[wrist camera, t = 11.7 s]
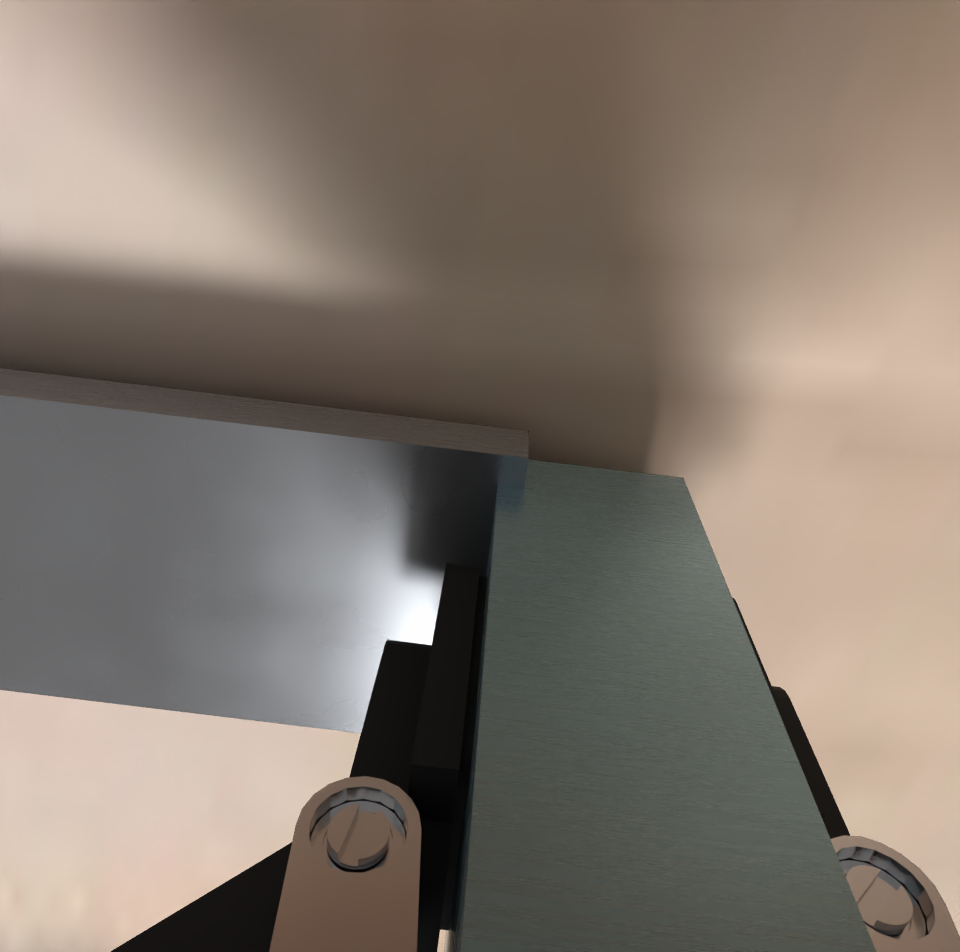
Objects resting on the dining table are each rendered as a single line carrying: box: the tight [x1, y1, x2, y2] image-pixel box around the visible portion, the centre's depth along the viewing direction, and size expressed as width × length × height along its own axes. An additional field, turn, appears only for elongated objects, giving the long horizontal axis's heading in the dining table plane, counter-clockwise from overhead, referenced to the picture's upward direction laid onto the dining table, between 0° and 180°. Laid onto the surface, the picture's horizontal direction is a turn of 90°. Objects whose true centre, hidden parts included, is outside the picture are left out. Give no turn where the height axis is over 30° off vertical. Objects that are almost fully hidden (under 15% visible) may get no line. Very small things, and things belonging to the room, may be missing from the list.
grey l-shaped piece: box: [0, 368, 876, 952], centre depth 9 cm, size 17×6×9 cm, turn 84°
